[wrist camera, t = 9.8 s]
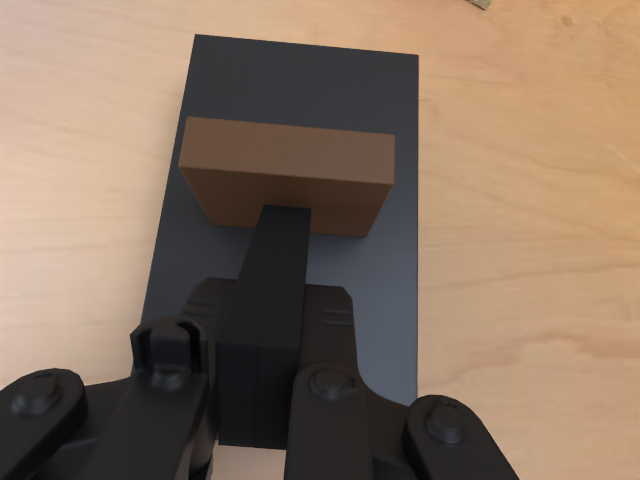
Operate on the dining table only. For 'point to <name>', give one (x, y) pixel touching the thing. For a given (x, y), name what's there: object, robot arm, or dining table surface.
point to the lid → (301, 183)
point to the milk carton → (482, 3)
